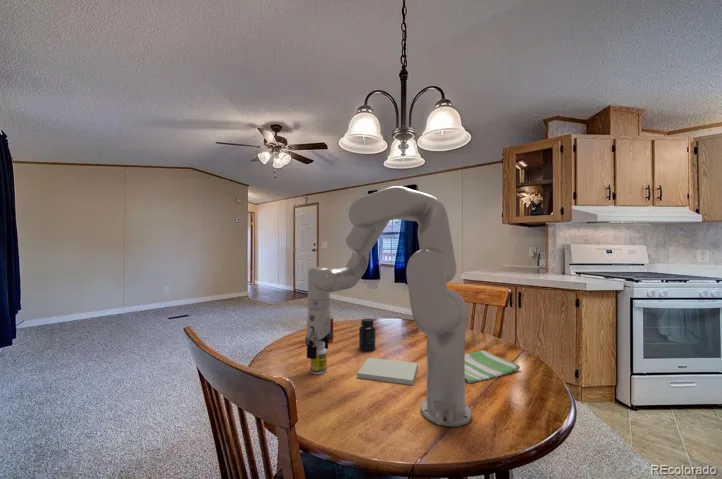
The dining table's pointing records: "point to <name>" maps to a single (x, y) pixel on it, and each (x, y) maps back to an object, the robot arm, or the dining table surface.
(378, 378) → the sage board
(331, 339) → the canned food
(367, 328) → the supplement bottle
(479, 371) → the dish towel
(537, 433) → the dining table surface
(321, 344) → the supplement bottle
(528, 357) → the dining table surface
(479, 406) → the dining table surface
